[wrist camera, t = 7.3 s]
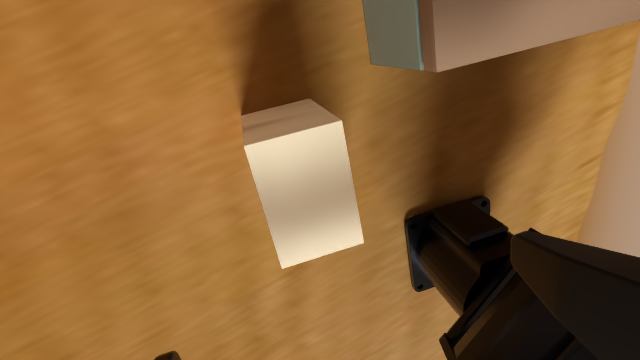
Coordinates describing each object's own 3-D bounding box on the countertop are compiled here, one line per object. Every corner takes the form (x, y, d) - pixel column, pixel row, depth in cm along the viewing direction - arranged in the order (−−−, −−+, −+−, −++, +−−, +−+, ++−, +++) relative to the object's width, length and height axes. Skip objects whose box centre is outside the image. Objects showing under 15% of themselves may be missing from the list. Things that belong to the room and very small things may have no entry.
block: (329, 190, 22) (363, 242, 16) (269, 207, 21) (282, 268, 15) (309, 98, 19) (341, 120, 14) (241, 115, 19) (243, 146, 13)
